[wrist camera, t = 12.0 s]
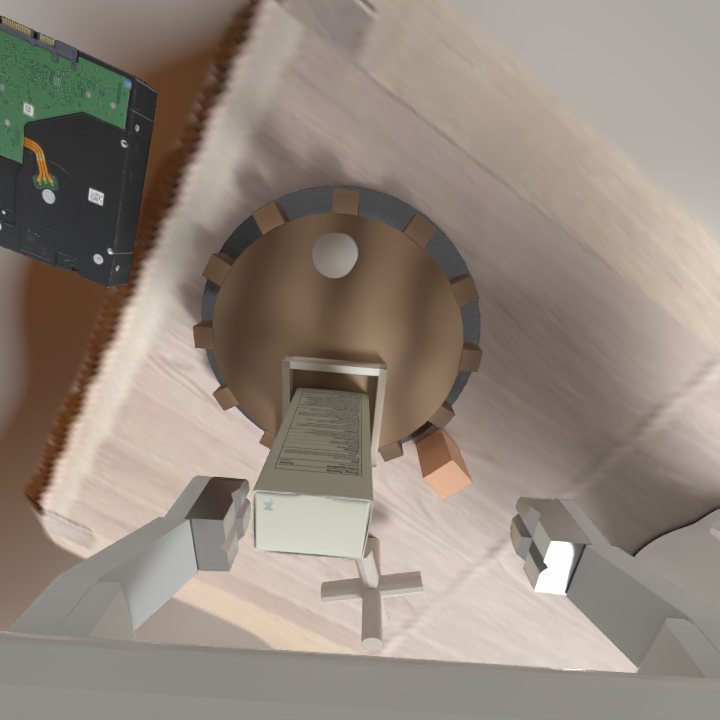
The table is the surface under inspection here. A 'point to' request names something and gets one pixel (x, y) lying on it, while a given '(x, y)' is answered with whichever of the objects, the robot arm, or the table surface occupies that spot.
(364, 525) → the skincare box
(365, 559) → the pipe connector
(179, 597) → the table surface
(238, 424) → the table surface
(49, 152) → the disk drive
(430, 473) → the orange rectangular block
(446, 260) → the dial base
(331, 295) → the dial
